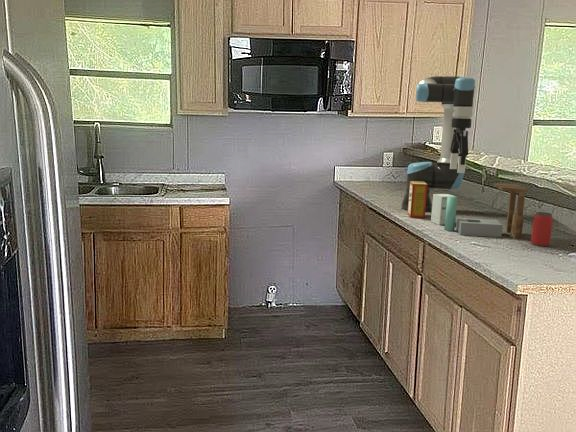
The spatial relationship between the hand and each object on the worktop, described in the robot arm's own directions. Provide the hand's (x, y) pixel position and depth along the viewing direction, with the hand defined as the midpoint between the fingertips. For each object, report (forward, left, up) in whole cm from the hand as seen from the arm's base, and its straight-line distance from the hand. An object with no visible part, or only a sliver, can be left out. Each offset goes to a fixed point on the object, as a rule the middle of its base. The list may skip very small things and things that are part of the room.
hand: (457, 171), depth 225 cm
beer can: (+17, +30, -25) cm, 43 cm away
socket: (+3, +10, -25) cm, 27 cm away
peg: (0, -1, -25) cm, 25 cm away
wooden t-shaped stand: (+3, +21, -25) cm, 32 cm away
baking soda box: (-28, -12, -25) cm, 40 cm away
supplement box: (-14, -2, -25) cm, 29 cm away
